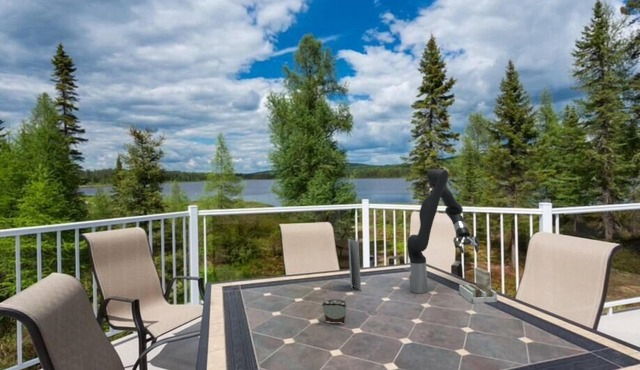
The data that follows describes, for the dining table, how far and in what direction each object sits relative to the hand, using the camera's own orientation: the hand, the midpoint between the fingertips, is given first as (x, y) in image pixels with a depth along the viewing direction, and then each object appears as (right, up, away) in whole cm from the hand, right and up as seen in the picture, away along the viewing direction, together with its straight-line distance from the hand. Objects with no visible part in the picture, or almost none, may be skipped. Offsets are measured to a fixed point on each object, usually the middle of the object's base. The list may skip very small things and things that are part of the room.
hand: (470, 252), depth 218 cm
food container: (-80, -26, -40) cm, 94 cm away
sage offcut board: (-6, -22, -16) cm, 28 cm away
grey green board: (+1, -22, -16) cm, 27 cm away
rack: (-2, -22, -16) cm, 27 cm away
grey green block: (-4, -22, -16) cm, 27 cm away
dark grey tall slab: (-66, -25, +15) cm, 72 cm away
